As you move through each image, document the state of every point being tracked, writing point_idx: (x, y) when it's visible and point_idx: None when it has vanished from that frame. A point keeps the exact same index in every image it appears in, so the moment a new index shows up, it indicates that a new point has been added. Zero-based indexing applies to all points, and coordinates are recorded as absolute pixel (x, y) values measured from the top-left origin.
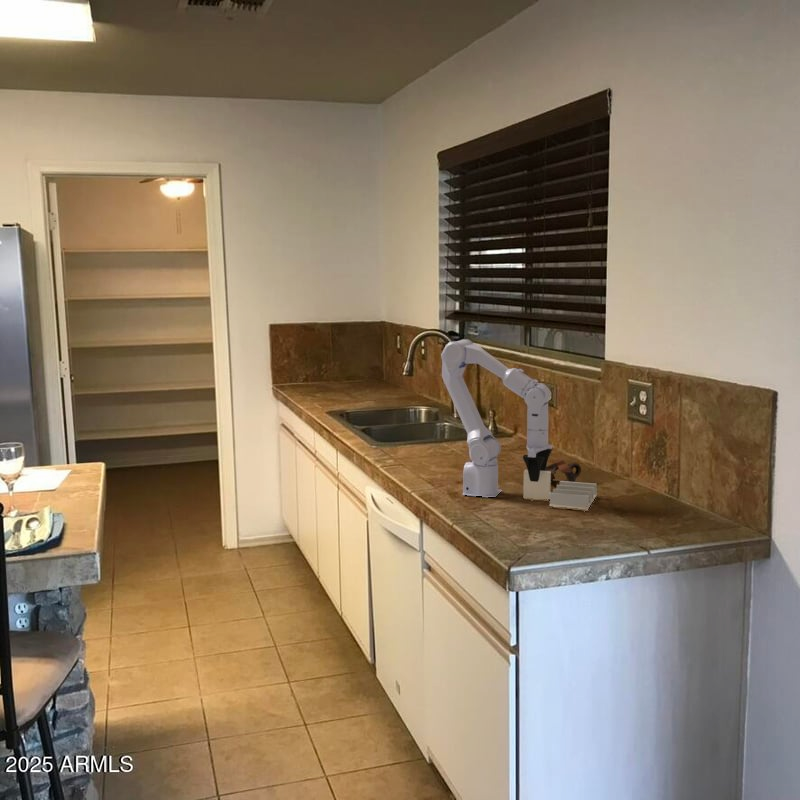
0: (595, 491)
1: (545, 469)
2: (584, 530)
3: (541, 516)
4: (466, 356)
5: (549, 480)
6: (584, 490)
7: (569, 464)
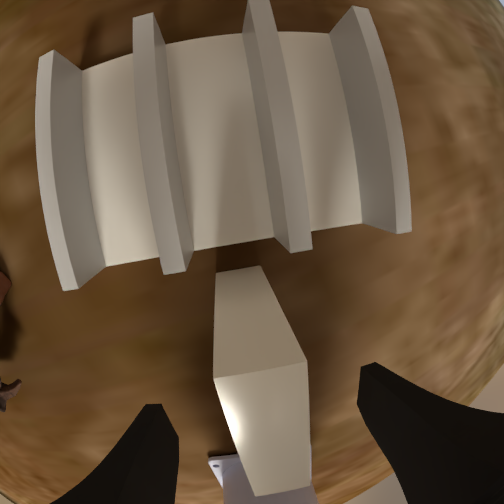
0: (73, 66)
1: (135, 429)
2: (492, 66)
3: (464, 209)
4: None
5: (263, 323)
6: (159, 67)
7: None
